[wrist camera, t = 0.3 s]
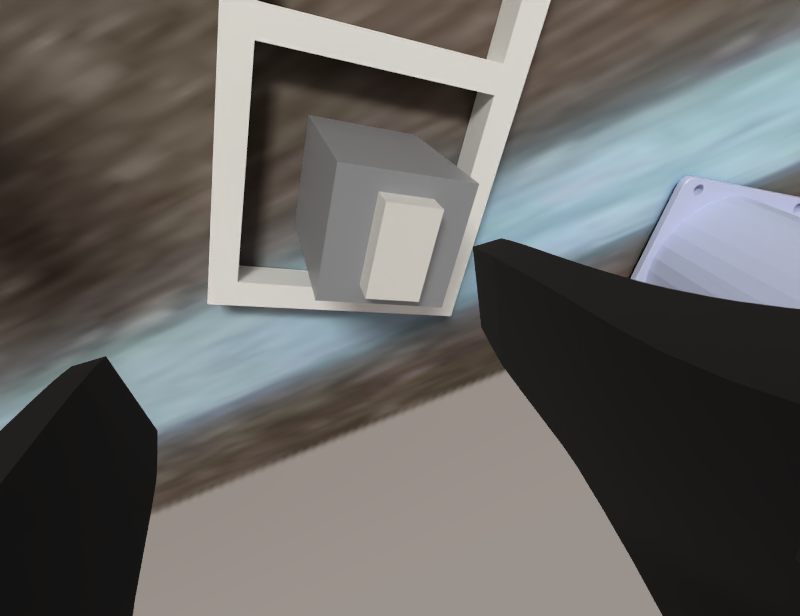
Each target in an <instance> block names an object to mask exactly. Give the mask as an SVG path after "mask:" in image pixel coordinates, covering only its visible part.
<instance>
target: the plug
mask: <svg viewBox="0 0 800 616" xmlns="http://www.w3.org/2000/svg"><path fill="white" fill-rule="evenodd" d="M478 186H479V183H477V182H476V181H475V180H474V179H472V178H471V177H470V176H468V175H467V174H466V173H464V172H463V171H462V170H460V169H459V168H458V167H457V166H455V165H454V164H453V163H451V162H450V161H449V160H447V159H446V158H445V157H443V156H442V155H441V154H440V153H438V152H437V151H436V150H434V149H433V148H432V147H430V146H429V145H428V144H427V143H425V142H424V141H423V140H421V139H420V138H419V137H417V136H416V135H414V134H408V133H403V132H398V131H392V130H387V129H381V128H376V127H371V126H365V125H360V124H355V123H349V122H344V121H339V120H333V119H328V118H322V117H317V116H312V115H309V116H308V124H307V132H306V140H305V148H304V156H303V164H302V172H301V180H300V188H299V196H298V204H297V211H296V219H295V224H296V228H297V232H298V236H299V239H300V243H301V247H302V251H303V255H304V259H305V263H306V266H307V270H308V274H309V278H310V282H311V286H312V289H313V293H314V297H315V300H316V301H334V302H352V303H370V304H388V305H406V306H424V307H442V305H443V302H444V299H445V295H446V292H447V289H448V285H449V282H450V279H451V276H452V272H453V269H454V266H455V262H456V259H457V256H458V252H459V249H460V246H461V242H462V239H463V236H464V233H465V229H466V226H467V223H468V219H469V216H470V213H471V209H472V206H473V203H474V199H475V196H476V193H477V190H478Z"/></svg>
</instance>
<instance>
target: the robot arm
mask: <svg viewBox="0 0 800 616" xmlns="http://www.w3.org/2000/svg"><path fill="white" fill-rule="evenodd" d="M696 186H697V187H696ZM695 188H696V189H695ZM694 189H695V190H694ZM473 253H474V262H475V271H476V281H477V290H478V300H479V309H480V319H481V327H482V329H483V331H484V333H485V335H486V337H487V339H488V340H489V342H490V344H491V346H492V348H493V350H494V351H495V353H496V355H497V357H498V358H499V360H500V362H501V364H502V365H503V367H504V368H505V369H506V371H507V372H508V373H509V375H510V376H511V378H512V379H513V380H514V382H515V383H516V384H517V385H518V386H519V388H520V390H521V391H522V392H523V394H524V395H525V396H526V397H527V399H528V400H529V402H530V403H531V404H532V406H533V407H534V408H535V409H536V411H537V412H538V413H539V415H540V416H541V417H542V419H543V420H544V421H545V423H546V424H547V425H548V427H549V428H550V429H551V431H552V432H553V433H554V435H555V436H556V437H557V438H558V440H559V441H560V442H561V444H562V445H563V446H564V448H565V449H566V451H567V452H568V454H569V455H570V457H571V458H572V460H573V461H574V462H575V464H576V465H577V467H578V468H579V470H580V472H581V474H582V475H583V477H584V479H585V480H586V482H587V484H588V485H589V487H590V489H591V490H592V492H593V493H594V495H595V497H596V498H597V500H598V502H599V503H600V505H601V507H602V508H603V510H604V512H605V513H606V515H607V517H608V519H609V520H610V522H611V524H612V525H613V527H614V529H615V531H616V533H617V534H618V536H619V538H620V539H621V541H622V543H623V544H624V546H625V548H626V550H627V552H628V553H629V555H630V557H631V559H632V560H633V562H634V564H635V566H636V568H637V569H638V571H639V573H640V575H641V577H642V579H643V580H644V582H645V584H646V586H647V588H648V590H649V591H650V593H651V595H652V597H653V599H654V601H655V602H656V604H657V606H658V608H659V610H660V612H661V613H662V615H663V616H800V197H797V196H792V195H787V194H782V193H776V192H771V191H766V190H761V189H756V188H751V187H746V186H741V185H736V184H731V183H726V182H720V181H715V180H710V179H705V178H700V177H695V176H686V177H683V178H682V179H681V180H680V181H679V182H678V184H677V186H676V188H675V190H674V192H673V194H672V196H671V198H670V200H669V202H668V204H667V206H666V208H665V210H664V212H663V214H662V216H661V218H660V220H659V222H658V224H657V226H656V228H655V230H654V232H653V234H652V236H651V238H650V240H649V242H648V244H647V246H646V248H645V250H644V252H643V254H642V256H641V258H640V260H639V262H638V264H637V266H636V268H635V270H634V272H633V274H632V276H631V278H626V277H622V276H619V275H615V274H611V273H608V272H605V271H602V270H598V269H595V268H592V267H589V266H585V265H582V264H579V263H576V262H573V261H570V260H567V259H564V258H561V257H558V256H555V255H552V254H550V253H547V252H544V251H541V250H538V249H535V248H532V247H529V246H526V245H523V244H520V243H517V242H513V241H510V240H506V239H498V240H494V241H491V242H488V243H484V244H481V245H477V246H474V247H473ZM156 476H157V430H156V428H155V427H154V425H153V424H152V422H151V421H150V419H149V418H148V417H147V415H146V414H145V412H144V411H143V409H142V408H141V406H140V405H139V404H138V402H137V401H136V399H135V398H134V396H133V395H132V393H131V392H130V391H129V389H128V388H127V386H126V385H125V383H124V382H123V380H122V379H121V378H120V376H119V375H118V373H117V372H116V370H115V369H114V367H113V366H112V365H111V363H110V362H109V360H108V359H107V357H106V356H105V357H102V358H99V359H95V360H92V361H88V362H85V363H82V364H78V365H75V366H72V367H70V368H69V369H68V370H66V371H65V372H64V373H63V374H61V375H60V376H59V377H58V378H56V379H55V380H54V381H53V382H52V383H51V384H50V385H48V386H47V387H46V388H45V389H44V390H43V391H42V392H41V393H40V394H39V395H38V396H37V397H35V398H34V399H33V400H32V401H31V402H30V403H29V404H28V405H27V406H26V407H25V408H24V409H23V410H22V411H21V412H20V413H19V414H18V415H17V416H15V417H14V418H13V419H12V420H11V421H10V422H9V423H8V424H7V425H6V426H5V427H4V428H3V429H2V430H1V431H0V616H133V609H134V602H135V595H136V590H137V585H138V579H139V573H140V569H141V563H142V558H143V552H144V547H145V542H146V536H147V531H148V525H149V520H150V514H151V508H152V503H153V497H154V491H155V485H156Z"/></svg>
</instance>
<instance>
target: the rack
mask: <svg viewBox="0 0 800 616" xmlns="http://www.w3.org/2000/svg"><path fill="white" fill-rule="evenodd" d="M550 1H551V0H503V1H502V5H501V8H500V12H499V15H498V19H497V23H496V26H495V30H494V33H493V37H492V41H491V44H490V48H489V52H488V55H487V59H482V58H478V57H474V56H471V55H467V54H463V53H459V52H455V51H451V50H447V49H443V48H439V47H436V46H432V45H428V44H424V43H420V42H416V41H412V40H408V39H404V38H401V37H397V36H393V35H389V34H385V33H381V32H377V31H373V30H370V29H366V28H362V27H358V26H354V25H350V24H346V23H342V22H338V21H335V20H331V19H327V18H323V17H319V16H315V15H311V14H307V13H303V12H300V11H296V10H292V9H288V8H284V7H280V6H276V5H272V4H268V3H265V2H261V1H257V0H219V18H218V43H217V69H216V95H215V121H214V147H213V173H212V199H211V225H210V251H209V277H208V302H207V304H214V305H234V306H255V307H275V308H295V309H315V310H336V311H356V312H376V313H396V314H417V315H437V316H451V314H452V311H453V308H454V305H455V301H456V298H457V295H458V292H459V289H460V286H461V282H462V279H463V276H464V273H465V270H466V267H467V263H468V260H469V257H470V254H471V251H472V248H473V244H474V241H475V238H476V235H477V232H478V229H479V226H480V222H481V219H482V216H483V213H484V210H485V207H486V203H487V200H488V197H489V194H490V191H491V188H492V184H493V181H494V178H495V175H496V172H497V169H498V165H499V162H500V159H501V156H502V153H503V150H504V146H505V143H506V140H507V137H508V134H509V131H510V127H511V124H512V121H513V118H514V115H515V112H516V109H517V105H518V102H519V99H520V96H521V93H522V90H523V86H524V83H525V80H526V77H527V74H528V71H529V67H530V64H531V61H532V58H533V55H534V52H535V48H536V45H537V42H538V39H539V36H540V33H541V29H542V26H543V23H544V20H545V17H546V14H547V10H548V7H549V4H550ZM255 40H256V41H260V42H264V43H269V44H273V45H277V46H282V47H286V48H291V49H295V50H299V51H304V52H308V53H312V54H317V55H321V56H325V57H330V58H334V59H338V60H343V61H347V62H351V63H356V64H360V65H364V66H369V67H373V68H377V69H382V70H386V71H390V72H395V73H399V74H404V75H408V76H412V77H417V78H421V79H425V80H430V81H434V82H438V83H443V84H447V85H451V86H456V87H460V88H464V89H469V90H473V91H477V95H476V99H475V102H474V106H473V110H472V113H471V117H470V120H469V124H468V128H467V131H466V135H465V139H464V142H463V146H462V149H461V153H460V157H459V160H458V164H457V167H458V168H459V169H460V170H462V171H463V172H464V173H466V174H467V175H468V176H470V177H471V178H472V179H474V180H475V181H476V182H477V183H479V186H478V190H477V193H476V196H475V199H474V203H473V206H472V209H471V213H470V216H469V219H468V223H467V226H466V229H465V233H464V236H463V239H462V242H461V246H460V249H459V252H458V256H457V259H456V262H455V266H454V269H453V272H452V276H451V279H450V282H449V285H448V289H447V292H446V295H445V299H444V302H443V305H442V307H424V306H406V305H388V304H370V303H352V302H334V301H316V300H315V297H314V293H313V289H312V286H311V282H310V278H309V274H308V271H305V270H292V269H279V268H266V267H253V266H240V265H239V254H240V240H241V226H242V212H243V198H244V183H245V169H246V155H247V141H248V127H249V113H250V98H251V84H252V70H253V56H254V42H255Z"/></svg>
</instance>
